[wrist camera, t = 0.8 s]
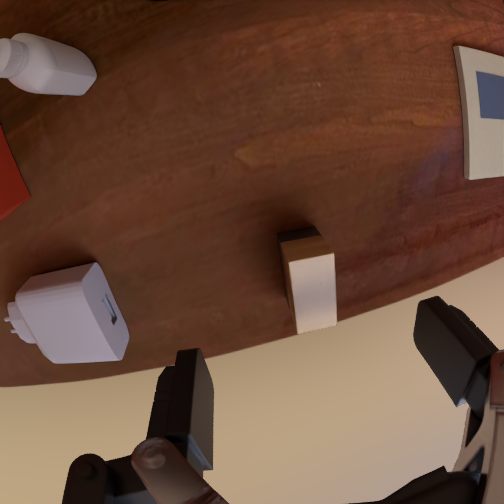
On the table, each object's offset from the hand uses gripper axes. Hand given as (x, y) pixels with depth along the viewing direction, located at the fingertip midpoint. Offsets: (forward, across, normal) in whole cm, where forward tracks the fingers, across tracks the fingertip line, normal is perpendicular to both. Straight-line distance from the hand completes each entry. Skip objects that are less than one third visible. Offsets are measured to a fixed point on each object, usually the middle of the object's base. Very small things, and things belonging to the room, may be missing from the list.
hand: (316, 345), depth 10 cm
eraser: (+17, -2, +6) cm, 19 cm away
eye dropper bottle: (+17, +14, -16) cm, 27 cm away
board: (+17, -31, -7) cm, 36 cm away
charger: (+18, +24, +6) cm, 30 cm away
